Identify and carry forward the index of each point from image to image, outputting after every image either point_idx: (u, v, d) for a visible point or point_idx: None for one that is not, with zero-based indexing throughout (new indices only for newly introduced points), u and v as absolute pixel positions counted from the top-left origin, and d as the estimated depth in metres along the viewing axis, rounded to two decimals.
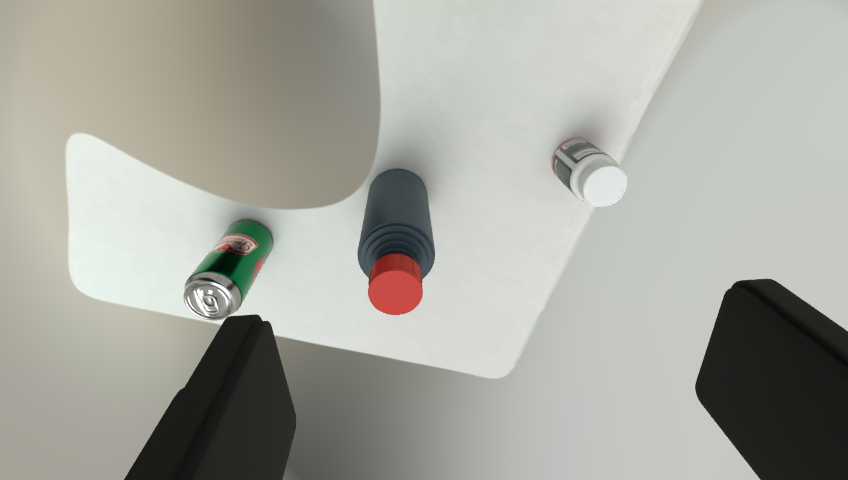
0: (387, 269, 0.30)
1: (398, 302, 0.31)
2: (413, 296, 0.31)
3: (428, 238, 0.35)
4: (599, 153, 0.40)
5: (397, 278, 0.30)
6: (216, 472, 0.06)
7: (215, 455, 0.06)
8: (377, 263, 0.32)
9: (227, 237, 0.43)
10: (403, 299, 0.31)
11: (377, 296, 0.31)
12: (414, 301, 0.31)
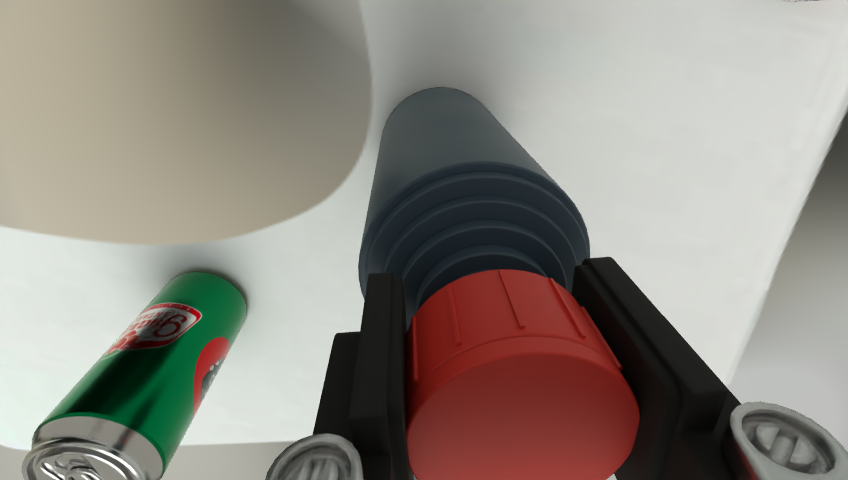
0: (461, 358, 0.06)
1: (542, 470, 0.07)
2: (602, 436, 0.07)
3: (560, 194, 0.11)
4: None
5: (517, 388, 0.06)
6: (403, 390, 0.07)
7: (402, 376, 0.07)
8: (416, 328, 0.08)
9: (139, 316, 0.22)
10: (561, 456, 0.07)
11: (450, 470, 0.07)
12: (609, 452, 0.07)
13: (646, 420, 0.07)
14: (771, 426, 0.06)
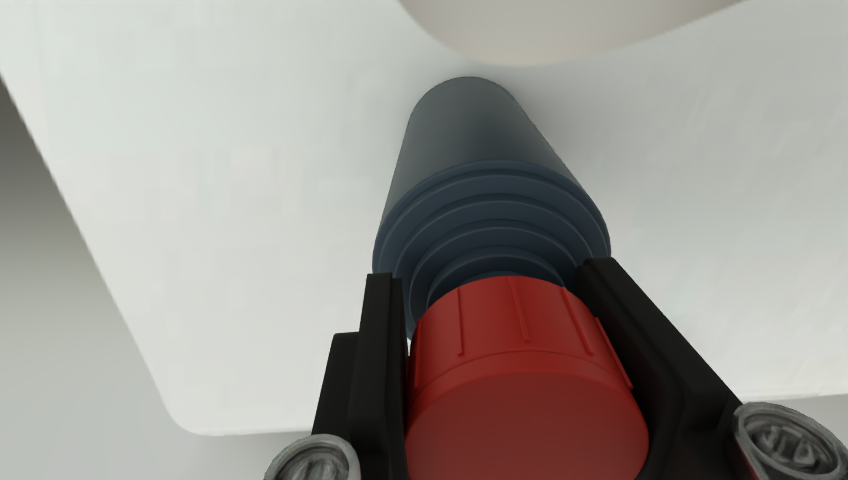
0: (461, 370, 0.06)
1: None
2: (608, 457, 0.07)
3: None
4: None
5: (518, 404, 0.06)
6: (402, 391, 0.07)
7: (401, 376, 0.07)
8: (421, 333, 0.08)
9: None
10: (564, 473, 0.07)
11: (448, 479, 0.07)
12: (615, 473, 0.07)
13: (648, 420, 0.07)
14: (773, 426, 0.06)
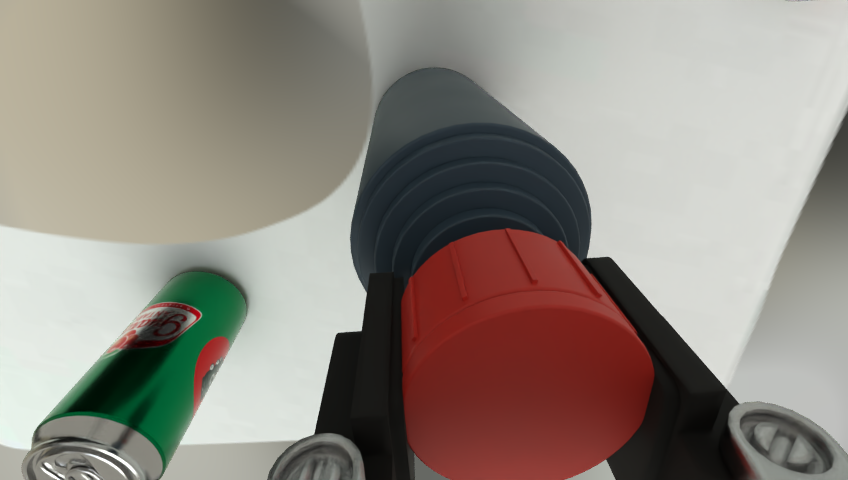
0: None
1: (579, 390, 0.06)
2: (537, 343, 0.06)
3: (561, 158, 0.10)
4: None
5: (443, 422, 0.06)
6: None
7: None
8: None
9: (139, 315, 0.22)
10: (559, 376, 0.06)
11: (552, 461, 0.07)
12: (568, 332, 0.06)
13: (644, 420, 0.07)
14: (769, 426, 0.06)
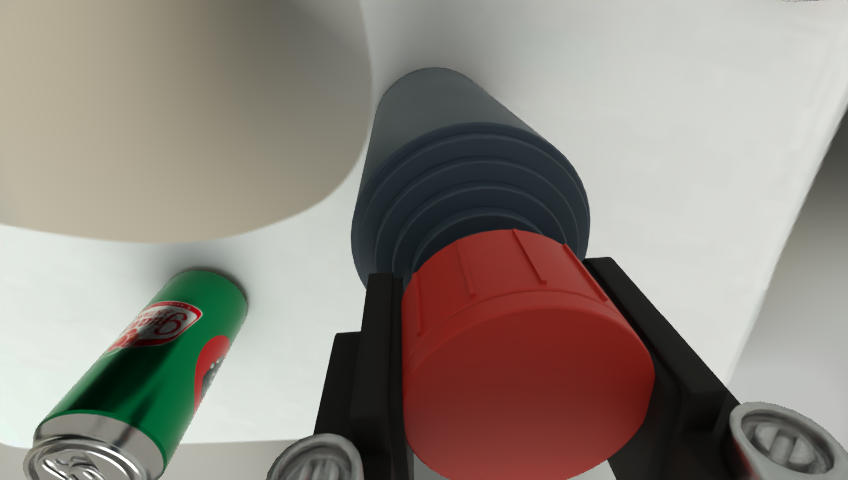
0: None
1: (510, 375, 0.06)
2: (441, 413, 0.06)
3: (559, 157, 0.10)
4: None
5: (523, 466, 0.07)
6: None
7: None
8: None
9: (140, 314, 0.22)
10: (487, 393, 0.06)
11: (614, 385, 0.06)
12: (432, 393, 0.06)
13: (645, 420, 0.07)
14: (771, 426, 0.06)
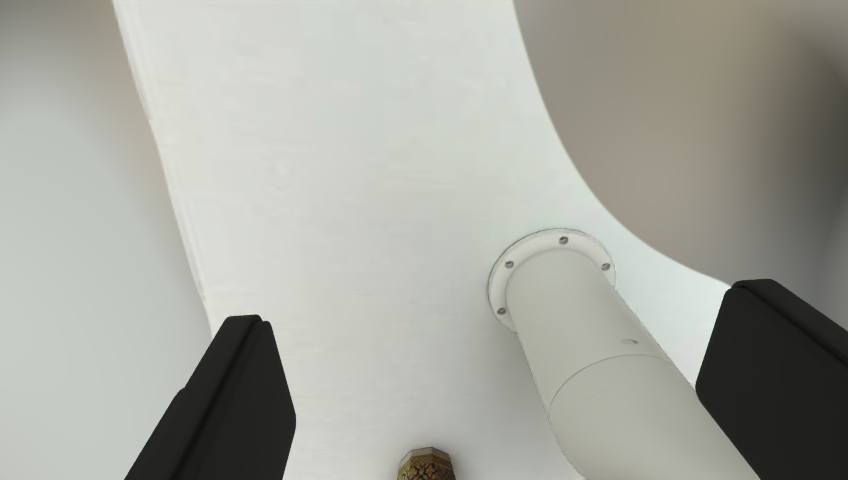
0: None
1: None
2: None
3: None
4: None
5: None
6: (216, 472, 0.06)
7: (215, 455, 0.06)
8: None
9: None
10: None
11: None
12: None
13: None
14: None
